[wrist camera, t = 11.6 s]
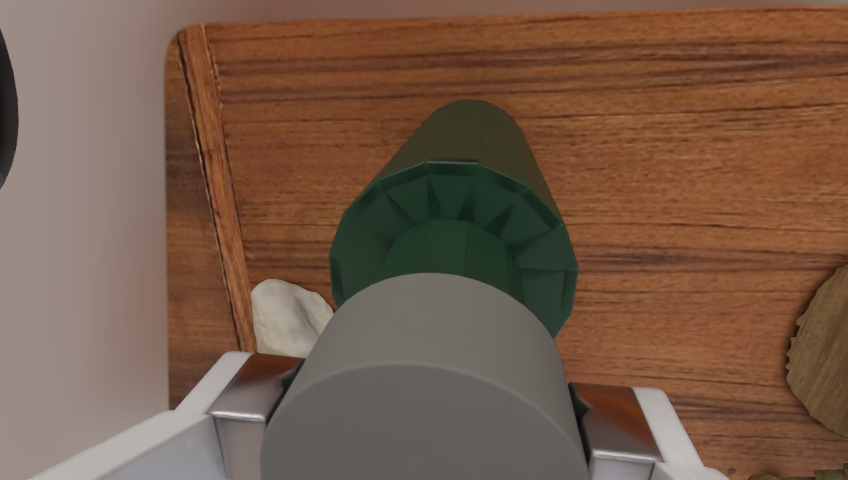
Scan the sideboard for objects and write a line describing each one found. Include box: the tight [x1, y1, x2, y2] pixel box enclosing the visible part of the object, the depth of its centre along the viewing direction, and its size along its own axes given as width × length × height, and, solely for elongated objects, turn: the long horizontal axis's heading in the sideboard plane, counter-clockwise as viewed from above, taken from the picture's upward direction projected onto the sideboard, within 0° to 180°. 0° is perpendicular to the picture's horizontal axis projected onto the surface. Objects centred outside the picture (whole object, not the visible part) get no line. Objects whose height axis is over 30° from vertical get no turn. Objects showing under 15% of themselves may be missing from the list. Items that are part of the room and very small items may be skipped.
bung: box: [260, 273, 591, 480], centre depth 8 cm, size 5×5×4 cm
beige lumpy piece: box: [251, 279, 334, 359], centre depth 32 cm, size 11×6×5 cm, turn 170°
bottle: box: [329, 100, 579, 340], centre depth 18 cm, size 7×7×20 cm
